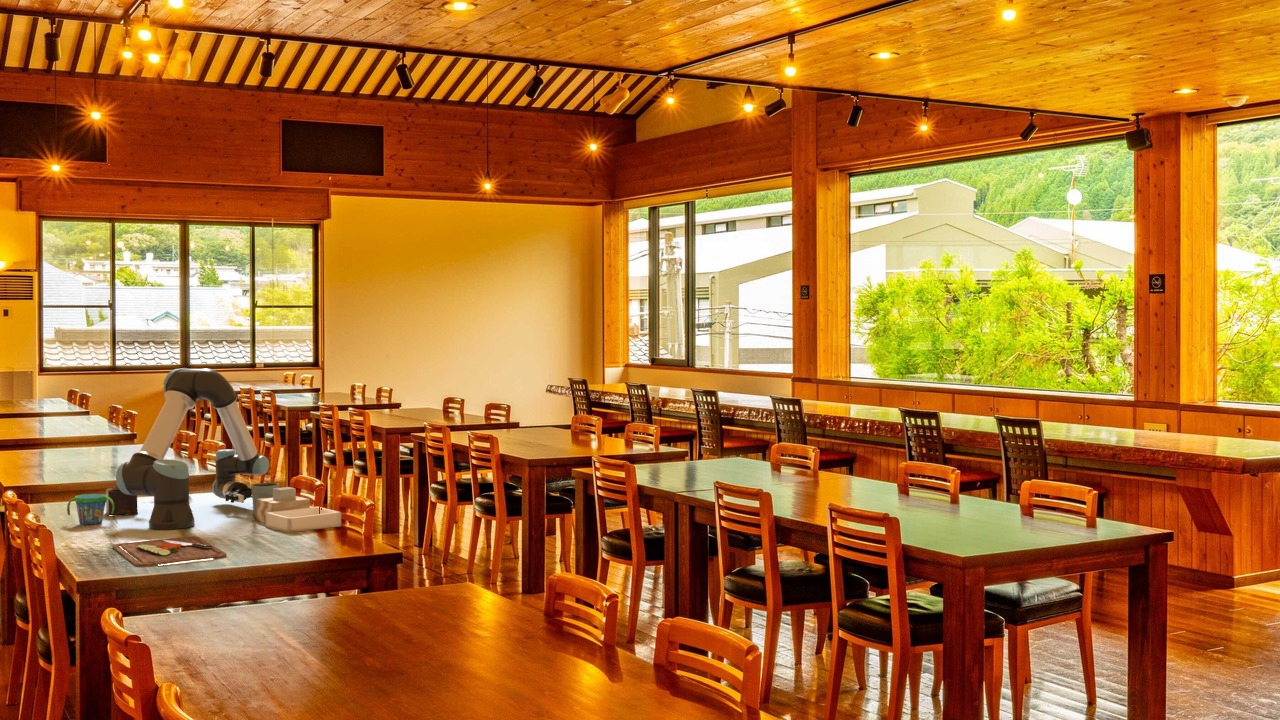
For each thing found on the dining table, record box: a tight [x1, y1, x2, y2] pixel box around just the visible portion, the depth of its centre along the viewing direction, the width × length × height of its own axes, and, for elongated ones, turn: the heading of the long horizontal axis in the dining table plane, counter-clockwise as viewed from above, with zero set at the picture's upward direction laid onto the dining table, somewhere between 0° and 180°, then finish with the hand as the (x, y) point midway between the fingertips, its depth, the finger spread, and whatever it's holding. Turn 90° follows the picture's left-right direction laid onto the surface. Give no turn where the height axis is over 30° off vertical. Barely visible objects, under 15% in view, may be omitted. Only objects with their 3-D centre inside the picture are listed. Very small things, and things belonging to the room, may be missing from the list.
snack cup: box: [66, 493, 114, 526], centre depth 431 cm, size 16×10×10 cm
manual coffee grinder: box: [105, 484, 139, 516], centre depth 455 cm, size 16×11×18 cm
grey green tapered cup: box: [250, 482, 280, 518], centre depth 447 cm, size 10×10×12 cm
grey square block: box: [273, 486, 297, 501], centre depth 435 cm, size 6×6×4 cm
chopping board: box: [112, 535, 227, 567], centre depth 378 cm, size 45×27×3 cm, turn 34°
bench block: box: [256, 495, 311, 524], centre depth 436 cm, size 14×14×8 cm
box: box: [265, 506, 342, 534], centre depth 424 cm, size 18×20×5 cm
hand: (260, 497), depth 452 cm, fingers open, 13 cm apart
